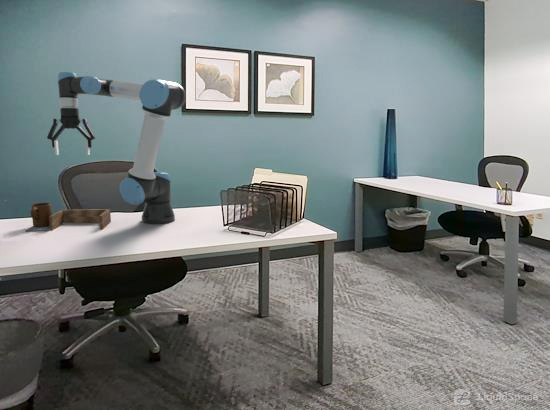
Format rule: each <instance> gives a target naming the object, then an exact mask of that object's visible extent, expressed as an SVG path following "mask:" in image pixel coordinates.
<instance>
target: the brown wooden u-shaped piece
mask: <svg viewBox="0 0 550 410" xmlns="http://www.w3.org/2000/svg"><path fill="white" fill-rule="evenodd" d="M111 216H112V215H111V208H104V209H103V208H102V209H100V208H99V209H98V208H97V209H96V208H95V209H88V208H87V209H60V210H58V211H56V212H55V213H52V215H51V216H49V225H50V230H49V231H55V230H56V229H57V228H59V227H61V226H62V225H64V224H90V223H91V224H94V223H97V224H98V223H99V230H101V231H102V230H104V229H105V228H106V227H108V225H109V224H111V222H112V220H111Z"/></svg>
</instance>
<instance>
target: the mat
mask: <svg viewBox="0 0 550 410" xmlns="http://www.w3.org/2000/svg"><path fill="white" fill-rule="evenodd" d="M49 231H51V230H50V226H46V227H35V226H33V225H32V226H31V227H28V228H27V229H25V233H31V232H33V233H34V232H49Z"/></svg>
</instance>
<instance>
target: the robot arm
mask: <svg viewBox="0 0 550 410" xmlns="http://www.w3.org/2000/svg"><path fill="white" fill-rule="evenodd" d="M57 85H58V95H59V106H60V109H59V110H60V118H53V121H52V126H51V128H50V130H49V131H48V134H47V137H46V138H47V140H50V141H51V147H52V148H53V149H54V156H59V155H60V150H59V140H57V139H58V138H59V136H60V135H61V134H62V133H63V131H65V130H66V129H67V130H68V129H71V130H73V129H75V130H78V132H80V134H81V135H82V136H83V137H84V138H85V139H86V140H85V148H86V149H85V150H86V152H85V153H86V155H87V156H89V155H91V151H90V149H91V148H92V141H93V140H95V139H96V136H95V135H94V133H93V130H92V129H91V127H90V126H89V124H88V120H87V119H86V118H83V119H80V112H79V99H78V98H79V95H91V96H92V95H93V96H101V97H110V98H118V99H126V100H127V99H128V100H133V101H140V103H141V105H142V106H141V110H142V112H143V113H144V115H143V116H144V117H143V121H142V125H141V129H140V133H139V134H140V136H139V139H138V143H137V149H136V152H135V153H136V154H135V157H134V162H133V167H132V168H130V169H129V170H128V173H127V176H126V178H124V179H123V180H122V181H121V182H120V184H119V194H120V195H121V197H122V199H123V200H124V201H125V202H126V203H127V204H130V205H140V204H141V205H142V204H143V203H144V208H143V211H142V215H141V222H142V223H145V224H166V223H167V224H168V223H170V222H171V223H172V222H174V221H175V220H176V218H175V217H176V216H175V213H174V210H173V206H172V205H171V204H172V203H171V176H170V174H169V173H167V172H160V171H159V172H158V171H157V172H156V171H154V170H155V166H156V162H157V158H158V155H159V149H160V144H161V139H162V136H163V132H164V127H165V122H166V120H167V119H169V118H171V114H172V111H174V110H178V109H180V108H181V107H183V105H185V103H186V98H187V94H186V90H185V89H184V88H183V86H182V85H180V84H179V83H177V82H174V81H167V80H163V79H159V78H158V79H157V78H156V79H155V78H154V79H153V78H152V79H149V80H147V81H145V82H144V83H138V82H130V81H129V82H128V81H123V80H121V81H120V80H114V79H113V80H112V79H104V78H98V77H96V76H93V75H92V76H91V75H86V76H77V74H76V73H75V72H70V71H60V72H59V73H58V74H57ZM60 123H61V126H60V127H59V128H58V129H57V127H58V125H59V124H60ZM80 123H81V125H83V126H84V129H85V130H86V131H85V130H84V129H83V128H82V126H81V125H80ZM56 129H57V131H56ZM88 134H89V135H88Z"/></svg>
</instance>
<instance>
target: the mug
mask: <svg viewBox="0 0 550 410" xmlns="http://www.w3.org/2000/svg"><path fill="white" fill-rule="evenodd" d="M51 215H53V210H52V205H51V203H50V202H40V203H39V202H38V203H33V204H31V209H30V217H31V219H32V226H35V227H46V226H50V225H49V216H51Z"/></svg>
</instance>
